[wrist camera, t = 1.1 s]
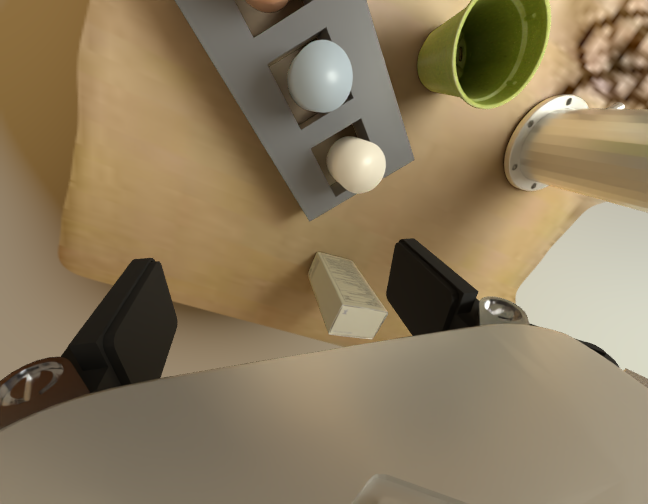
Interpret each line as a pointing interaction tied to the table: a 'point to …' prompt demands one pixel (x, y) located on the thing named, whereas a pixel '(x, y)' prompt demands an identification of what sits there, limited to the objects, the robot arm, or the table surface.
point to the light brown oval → (267, 5)
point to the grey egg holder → (270, 105)
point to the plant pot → (486, 51)
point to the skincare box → (345, 297)
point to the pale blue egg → (320, 77)
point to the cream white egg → (356, 164)
